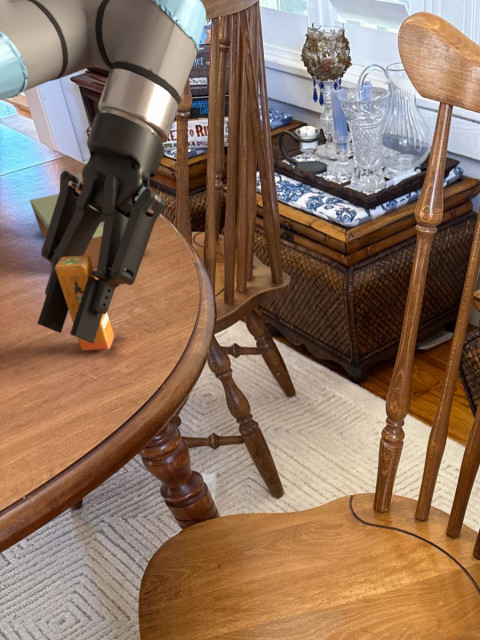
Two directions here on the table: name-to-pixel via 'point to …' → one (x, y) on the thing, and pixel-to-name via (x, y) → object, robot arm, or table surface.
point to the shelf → (43, 216)
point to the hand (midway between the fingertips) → (65, 333)
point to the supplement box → (73, 284)
